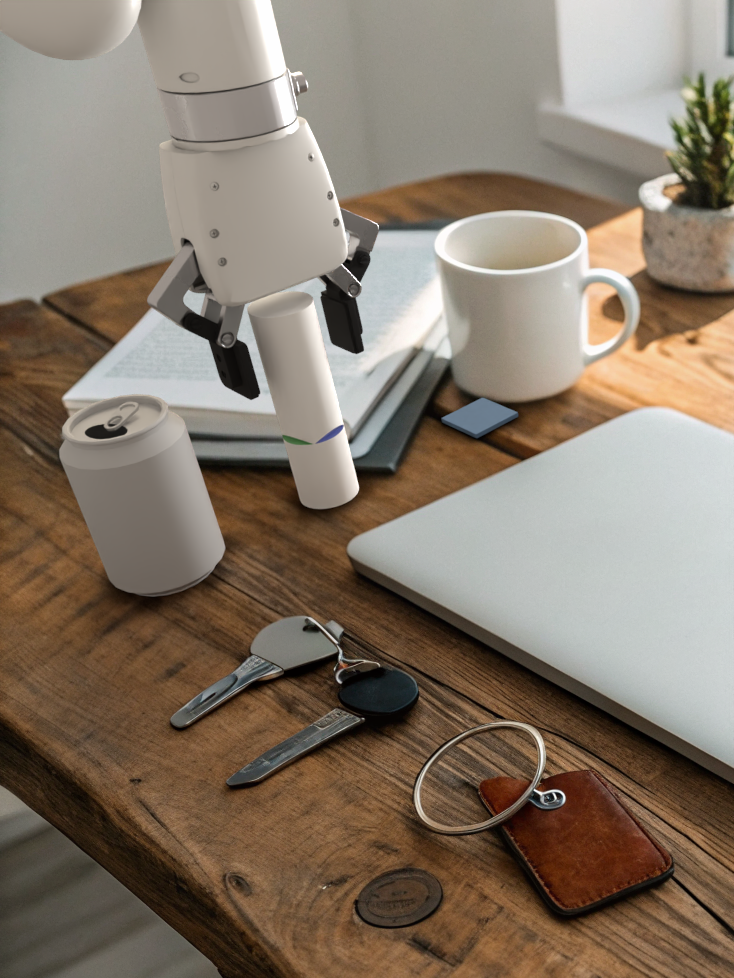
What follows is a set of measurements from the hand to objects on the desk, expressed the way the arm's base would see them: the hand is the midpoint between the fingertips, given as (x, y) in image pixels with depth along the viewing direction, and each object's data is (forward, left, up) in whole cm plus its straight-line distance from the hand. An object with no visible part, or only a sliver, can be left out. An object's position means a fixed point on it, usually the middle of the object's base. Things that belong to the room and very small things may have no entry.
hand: (297, 368), depth 81 cm
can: (-12, 0, -10) cm, 16 cm away
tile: (+14, -1, -10) cm, 17 cm away
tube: (0, 0, -10) cm, 10 cm away
